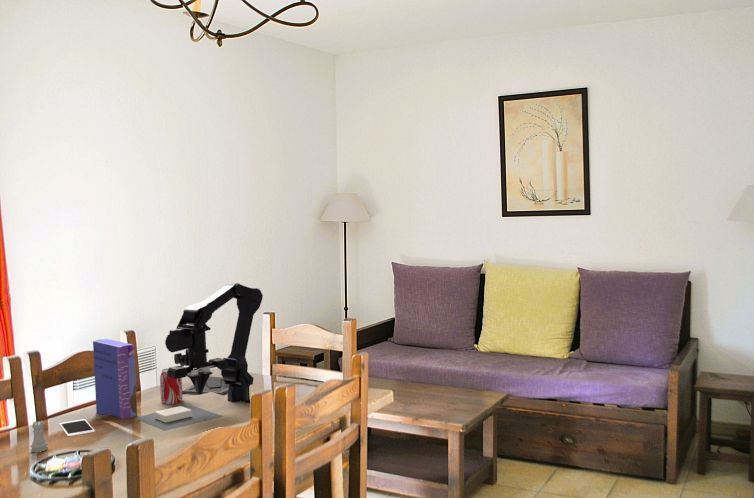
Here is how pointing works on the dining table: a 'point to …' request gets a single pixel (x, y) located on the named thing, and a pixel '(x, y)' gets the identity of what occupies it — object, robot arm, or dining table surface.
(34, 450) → the rook chess piece
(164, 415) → the tile
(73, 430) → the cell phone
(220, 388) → the grey angular slab
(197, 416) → the mat
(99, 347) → the cereal box
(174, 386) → the soda can
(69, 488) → the dining table surface
